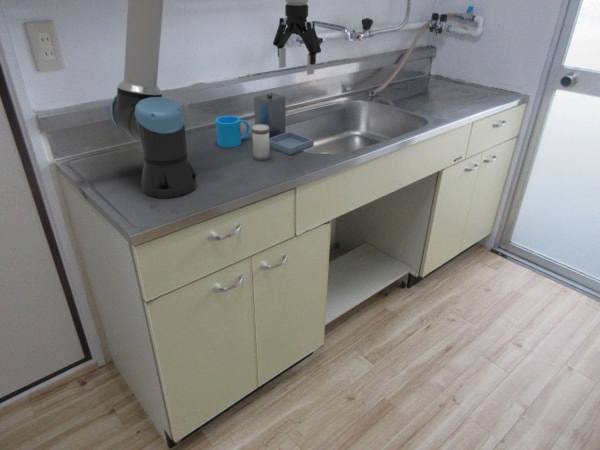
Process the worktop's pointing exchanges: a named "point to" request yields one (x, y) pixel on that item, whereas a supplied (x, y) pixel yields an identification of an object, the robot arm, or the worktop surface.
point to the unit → (270, 112)
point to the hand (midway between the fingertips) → (296, 70)
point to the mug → (229, 131)
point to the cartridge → (260, 142)
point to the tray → (290, 143)
